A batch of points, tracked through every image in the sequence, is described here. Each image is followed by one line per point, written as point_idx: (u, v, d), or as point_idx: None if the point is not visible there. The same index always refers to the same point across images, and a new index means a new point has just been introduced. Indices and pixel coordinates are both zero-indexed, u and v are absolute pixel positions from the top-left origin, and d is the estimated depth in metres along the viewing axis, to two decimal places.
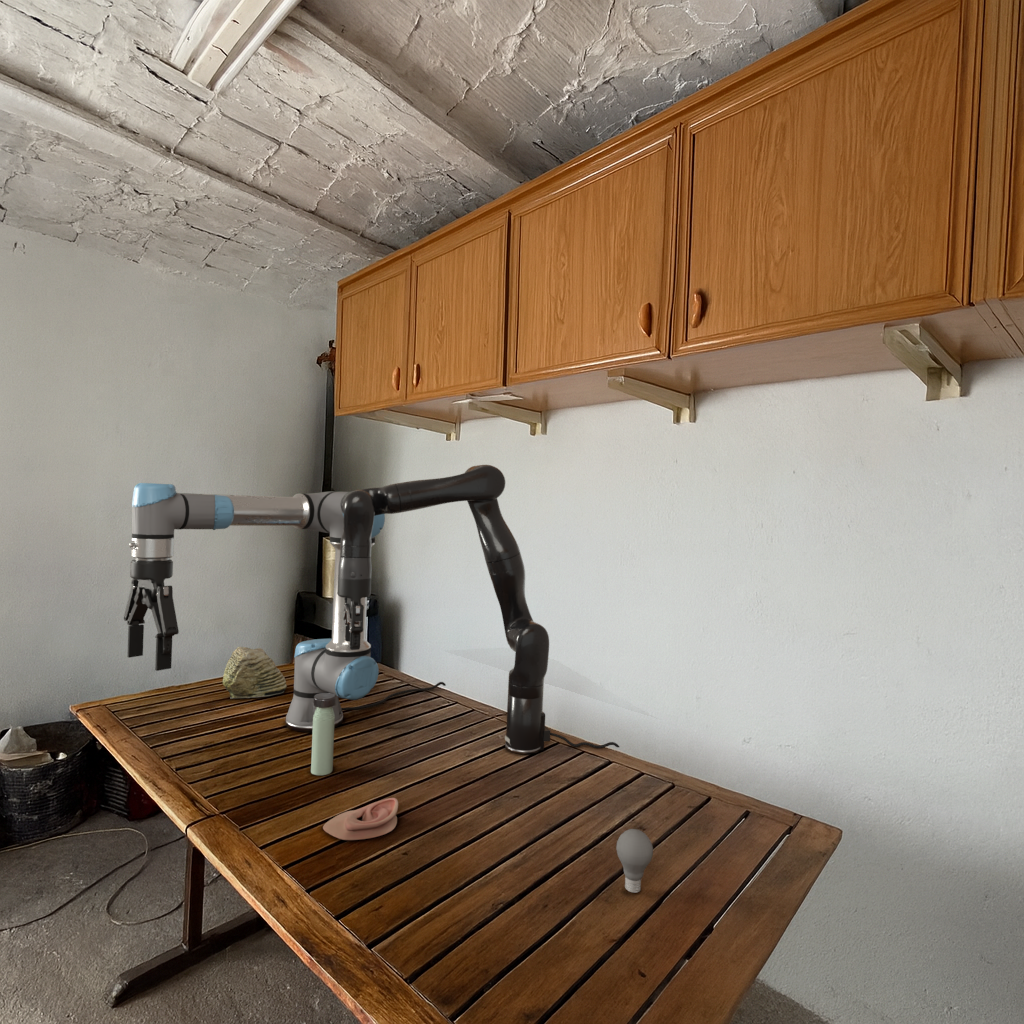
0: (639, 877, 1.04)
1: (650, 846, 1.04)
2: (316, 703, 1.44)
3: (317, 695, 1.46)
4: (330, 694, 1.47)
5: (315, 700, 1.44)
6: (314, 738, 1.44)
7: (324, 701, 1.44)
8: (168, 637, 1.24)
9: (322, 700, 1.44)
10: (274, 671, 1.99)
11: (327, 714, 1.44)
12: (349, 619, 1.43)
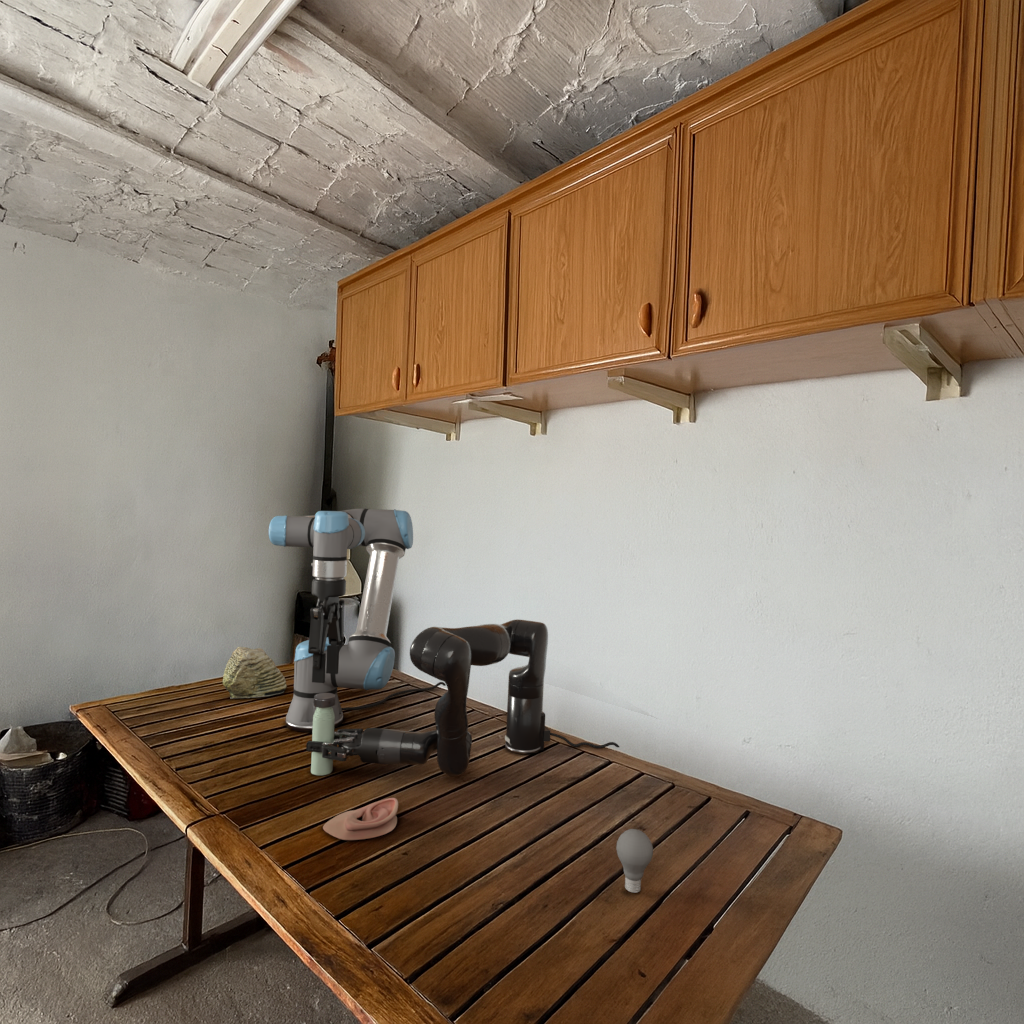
0: (639, 877, 1.04)
1: (650, 846, 1.04)
2: (316, 703, 1.44)
3: (317, 695, 1.46)
4: (330, 694, 1.47)
5: (315, 700, 1.44)
6: (314, 738, 1.44)
7: (323, 701, 1.44)
8: (316, 654, 1.40)
9: (322, 700, 1.44)
10: (274, 671, 1.99)
11: (327, 714, 1.44)
12: None
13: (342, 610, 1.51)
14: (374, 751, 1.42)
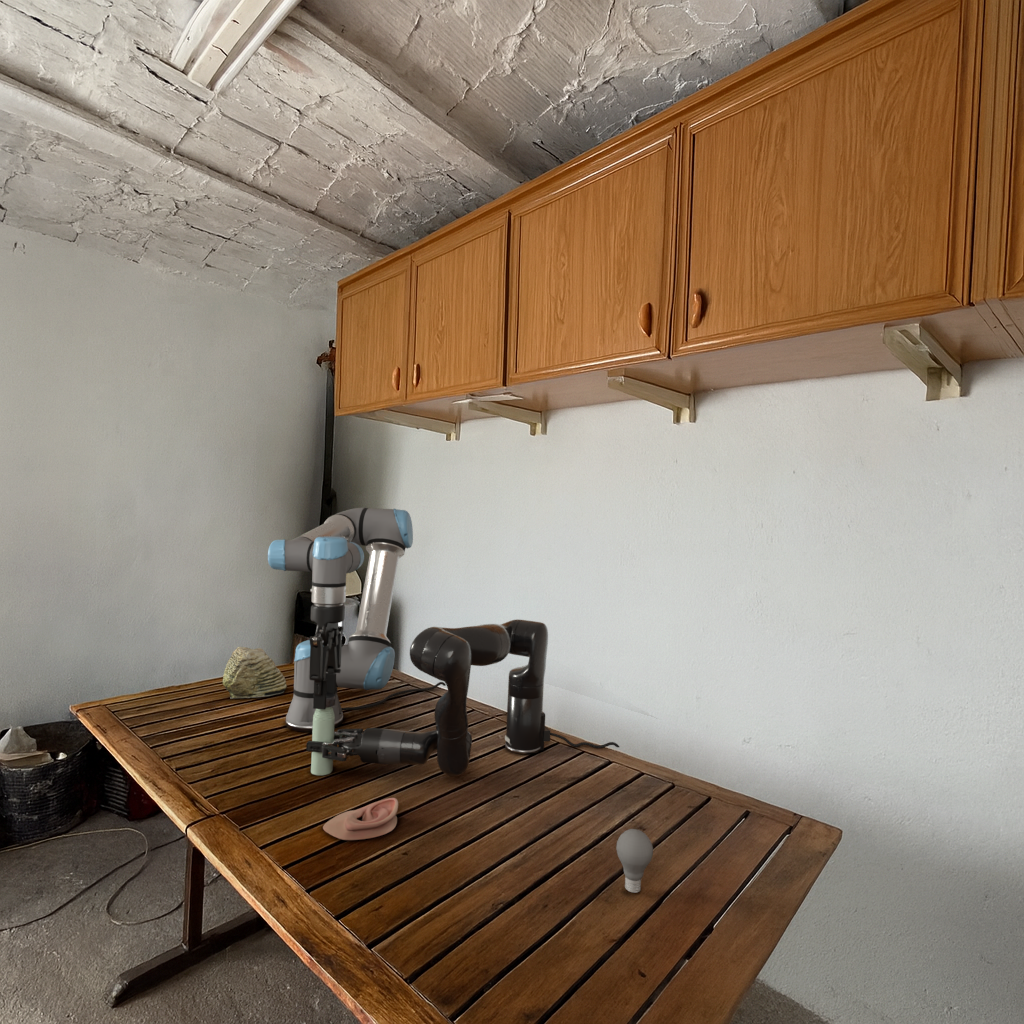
0: (639, 877, 1.04)
1: (650, 846, 1.04)
2: None
3: None
4: (330, 694, 1.47)
5: None
6: (314, 738, 1.44)
7: None
8: (317, 681, 1.41)
9: None
10: (274, 671, 1.99)
11: (327, 714, 1.44)
12: None
13: (340, 636, 1.51)
14: (374, 751, 1.42)
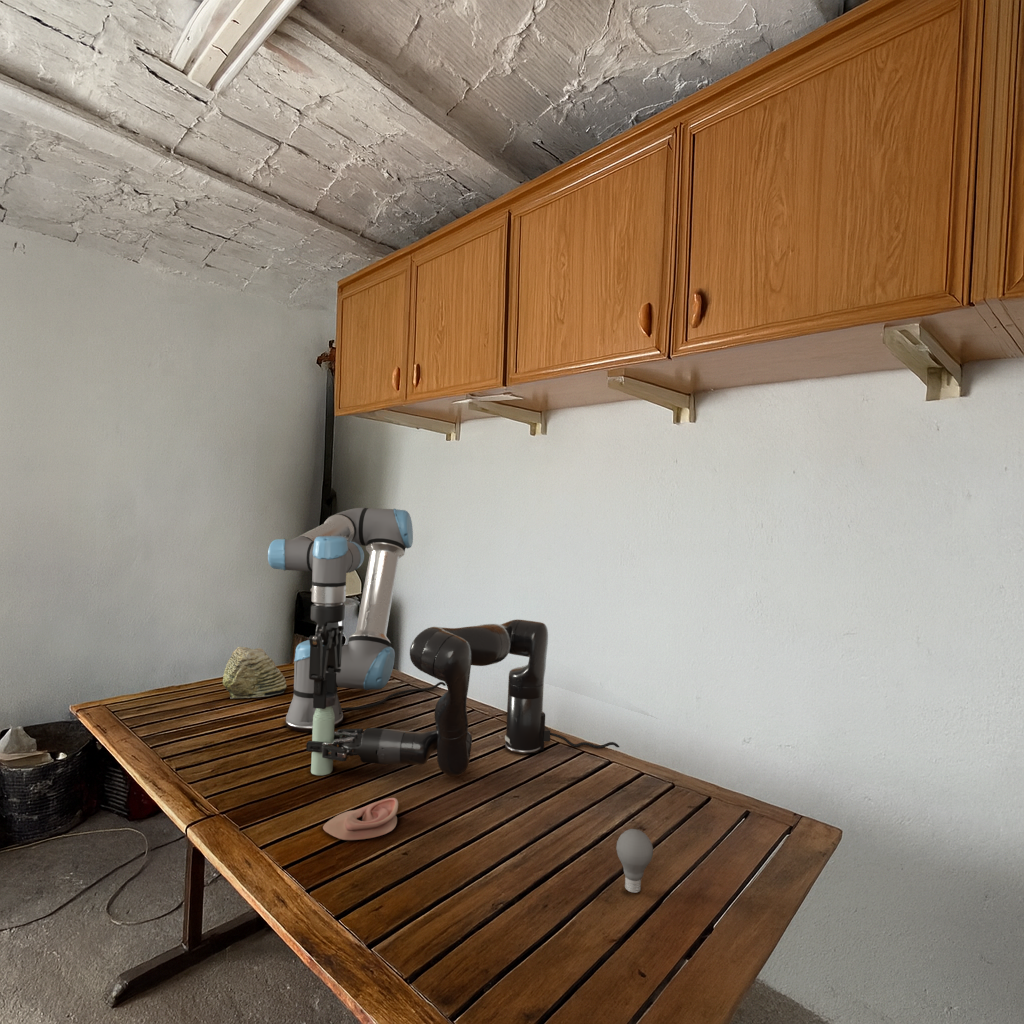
0: (639, 877, 1.04)
1: (650, 846, 1.04)
2: (334, 700, 1.46)
3: (328, 697, 1.45)
4: None
5: (334, 698, 1.46)
6: (314, 738, 1.44)
7: None
8: (317, 681, 1.41)
9: None
10: (274, 671, 1.99)
11: (327, 714, 1.44)
12: None
13: (341, 636, 1.51)
14: (374, 751, 1.42)
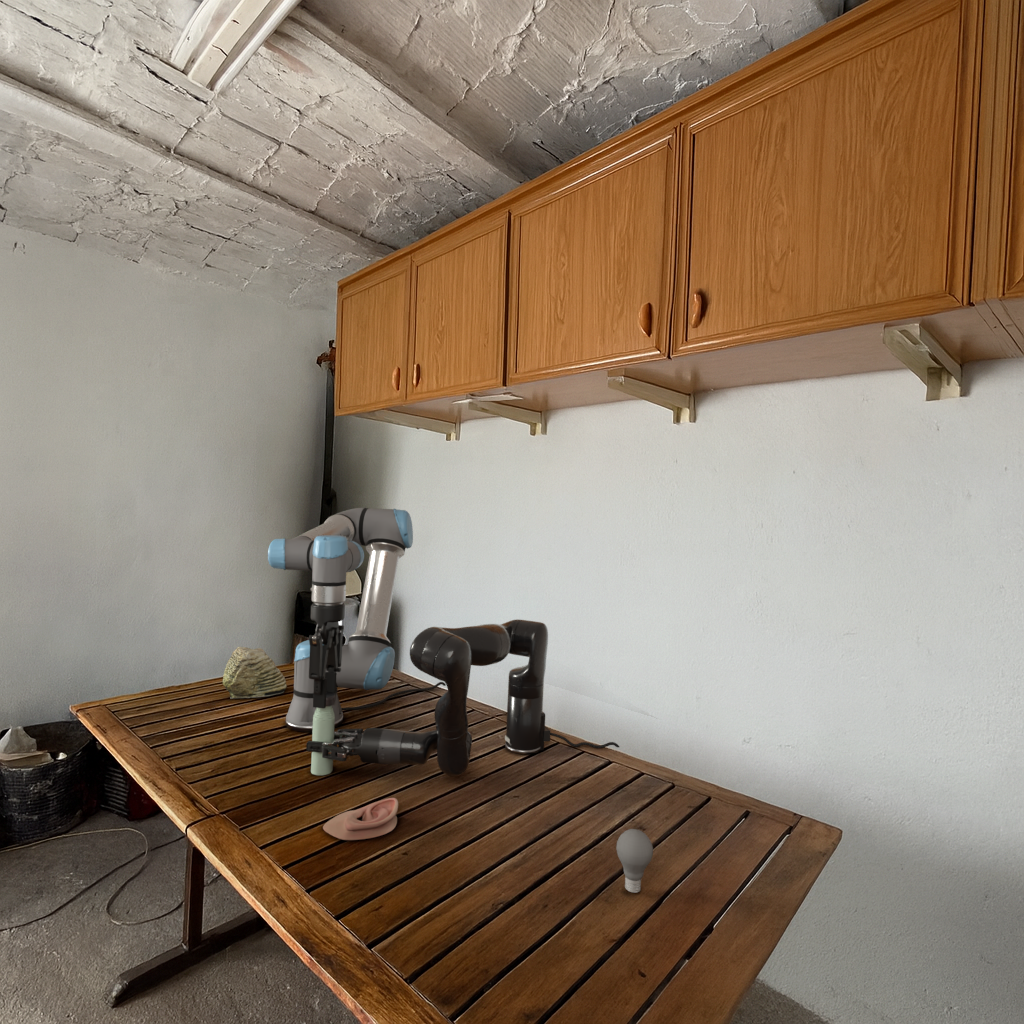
0: (639, 877, 1.04)
1: (650, 846, 1.04)
2: None
3: (326, 692, 1.48)
4: (328, 696, 1.45)
5: None
6: (314, 738, 1.44)
7: None
8: (317, 680, 1.41)
9: None
10: (274, 671, 1.99)
11: (327, 714, 1.44)
12: None
13: (341, 635, 1.51)
14: (374, 751, 1.42)
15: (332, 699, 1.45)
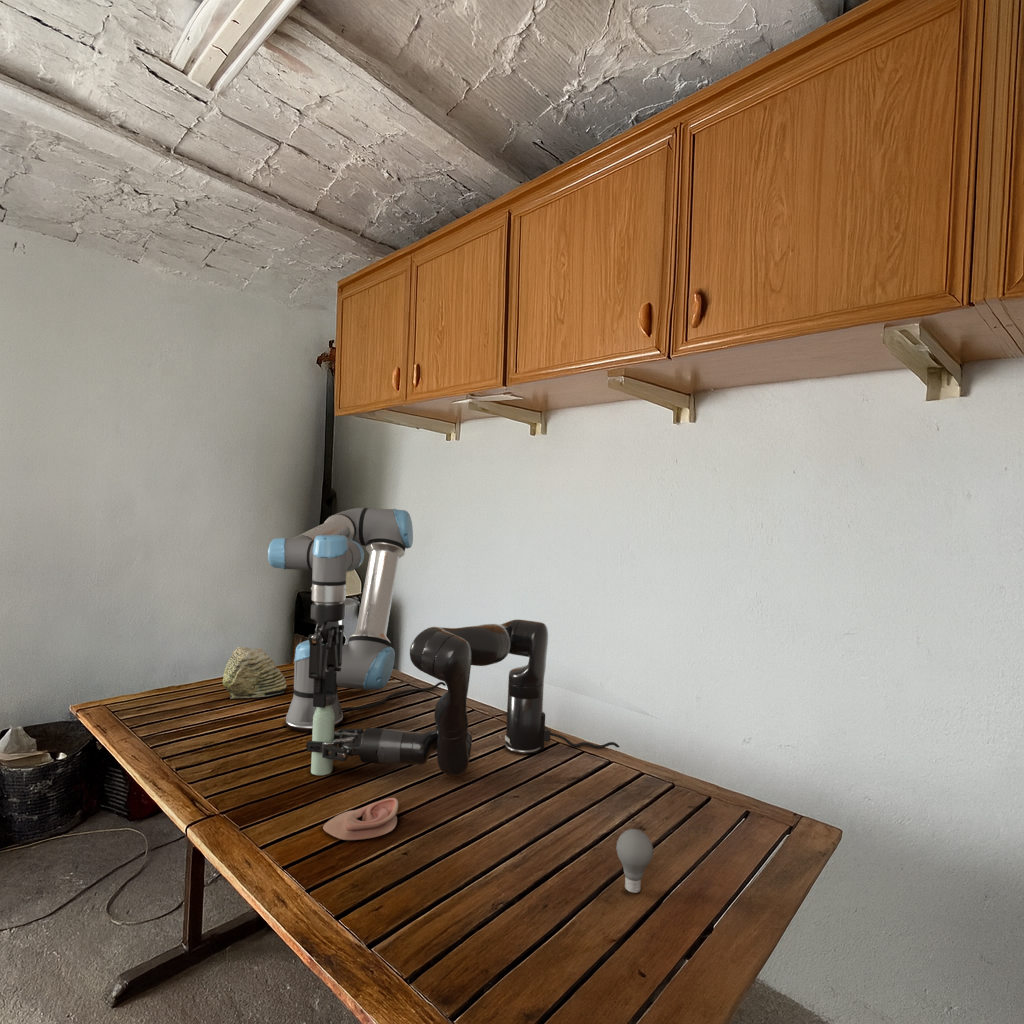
0: (639, 877, 1.04)
1: (650, 846, 1.04)
2: None
3: None
4: (326, 692, 1.47)
5: None
6: (314, 738, 1.44)
7: (331, 699, 1.45)
8: (317, 679, 1.42)
9: (330, 698, 1.44)
10: (274, 671, 1.99)
11: (327, 714, 1.44)
12: None
13: (341, 635, 1.51)
14: (374, 751, 1.42)
15: None
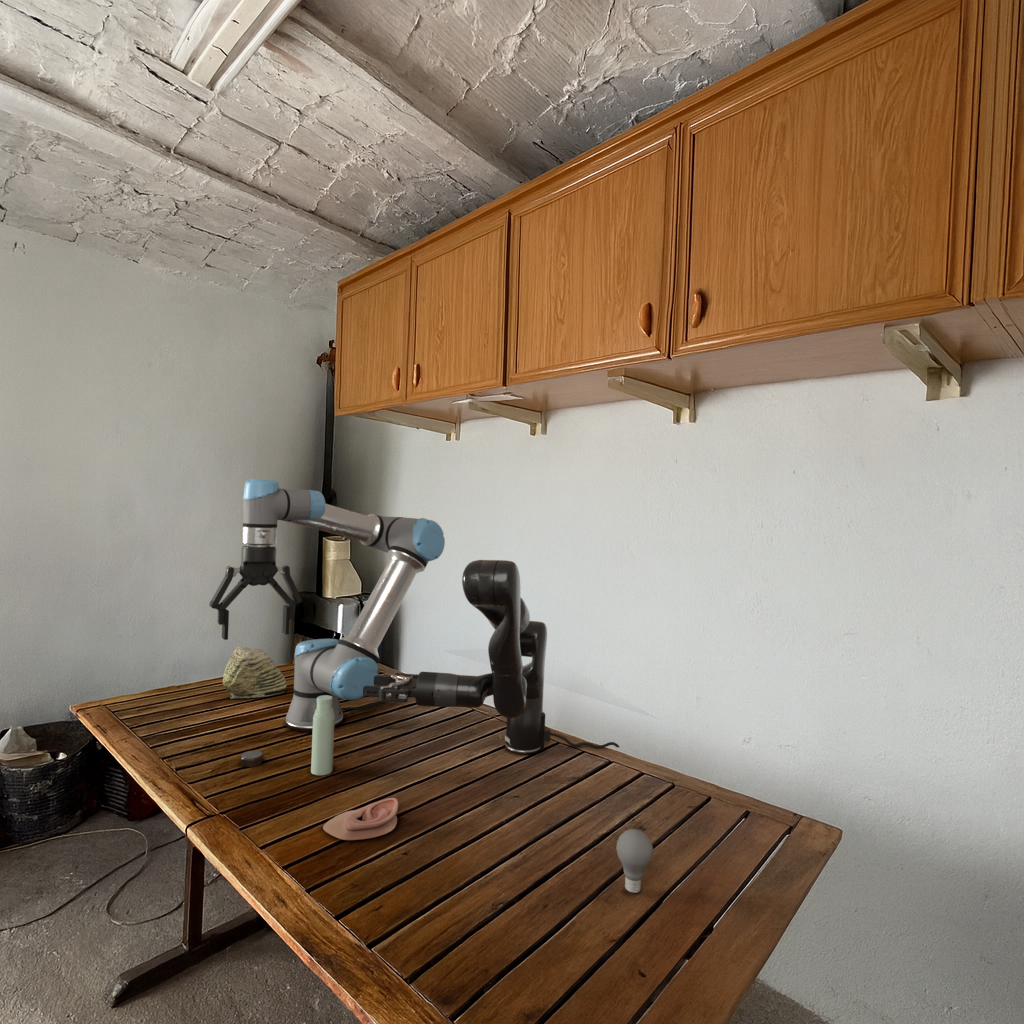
0: (639, 877, 1.04)
1: (650, 846, 1.04)
2: None
3: (258, 754, 1.49)
4: (245, 756, 1.48)
5: None
6: (314, 738, 1.44)
7: None
8: None
9: None
10: (274, 671, 1.99)
11: (327, 714, 1.44)
12: None
13: None
14: (430, 693, 1.41)
15: (243, 760, 1.47)
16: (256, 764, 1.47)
